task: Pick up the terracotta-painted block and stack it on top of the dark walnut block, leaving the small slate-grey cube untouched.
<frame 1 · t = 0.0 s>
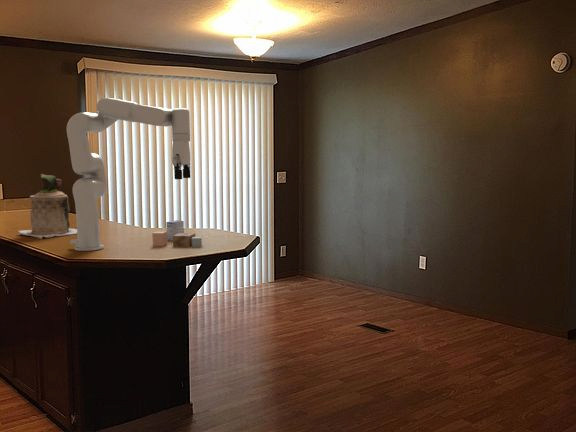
hand: (182, 178, 245), 31 cm above the table, fingers open, 9 cm apart
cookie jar: (51, 234, 304), on the table
medicine box: (175, 239, 283), on the table
slate block: (197, 246, 261), on the table
terracotta block: (160, 245, 264), on the table
walnut block: (184, 245, 264), on the table
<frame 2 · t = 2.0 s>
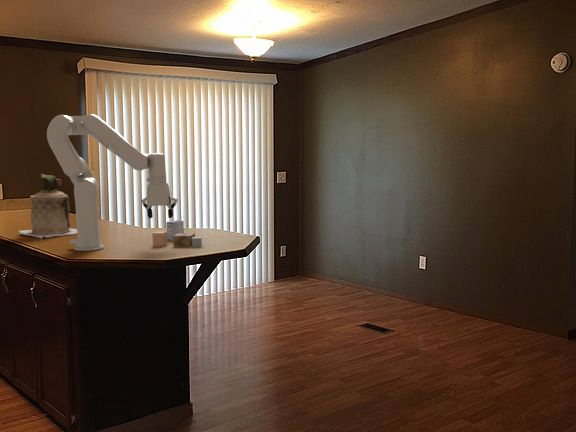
hand: (160, 217, 263), 13 cm above the table, fingers open, 9 cm apart
nothing on the table moved.
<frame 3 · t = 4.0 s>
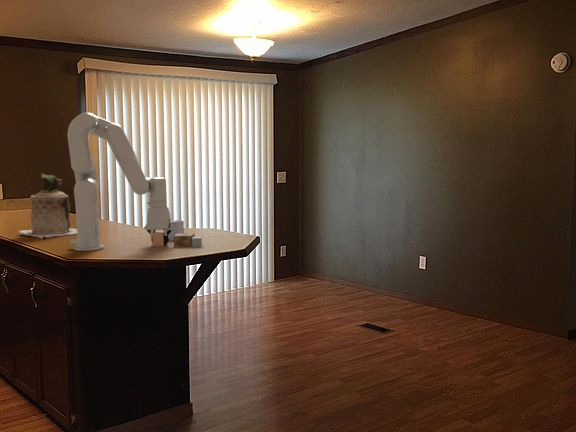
hand: (160, 243, 264), 1 cm above the table, fingers closed on terracotta block, 5 cm apart
terracotta block: (160, 245, 264), on the table, touching gripper
everything else where it was.
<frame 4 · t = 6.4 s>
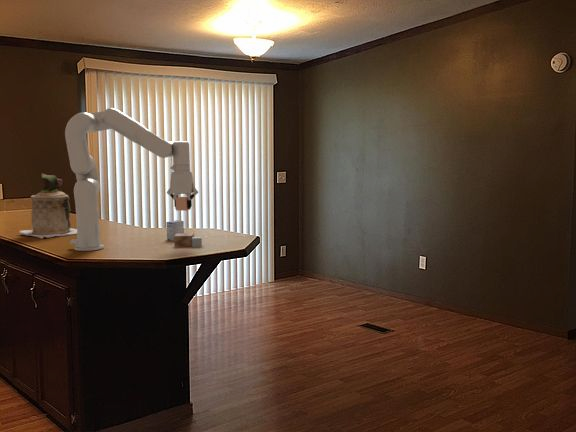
hand: (183, 208, 262), 17 cm above the table, fingers closed on terracotta block, 5 cm apart
terracotta block: (183, 209, 262), point 16 cm above the table, touching gripper
everything else where it was.
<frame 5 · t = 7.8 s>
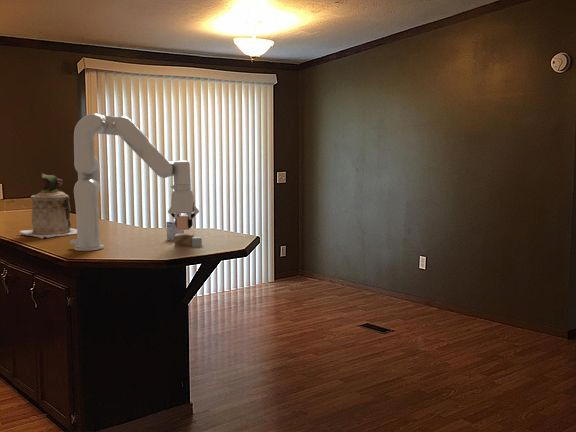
hand: (184, 227, 263), 8 cm above the table, fingers closed on terracotta block, 5 cm apart
terracotta block: (184, 228, 263), point 7 cm above the table, touching gripper
everything else where it was.
when the fingers open (7 cm above the table, at t = 8.9 s): terracotta block drops 1 cm, point 5 cm above the table.
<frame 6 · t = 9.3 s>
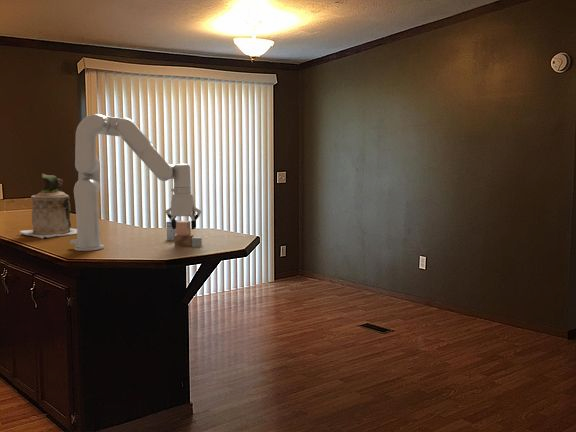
hand: (183, 228, 263), 7 cm above the table, fingers open, 8 cm apart
terracotta block: (183, 234, 264), point 5 cm above the table
everything else where it was.
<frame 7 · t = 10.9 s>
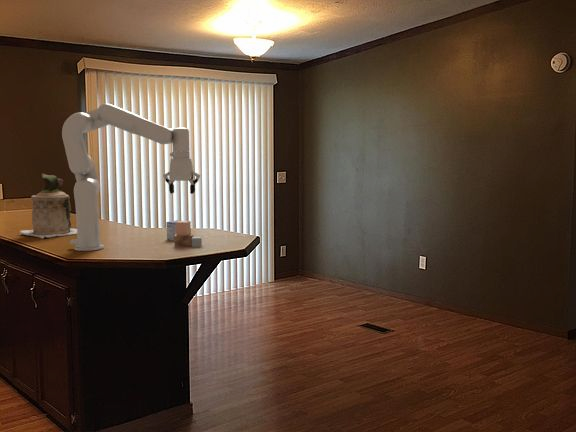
hand: (182, 193, 261), 24 cm above the table, fingers open, 9 cm apart
nothing on the table moved.
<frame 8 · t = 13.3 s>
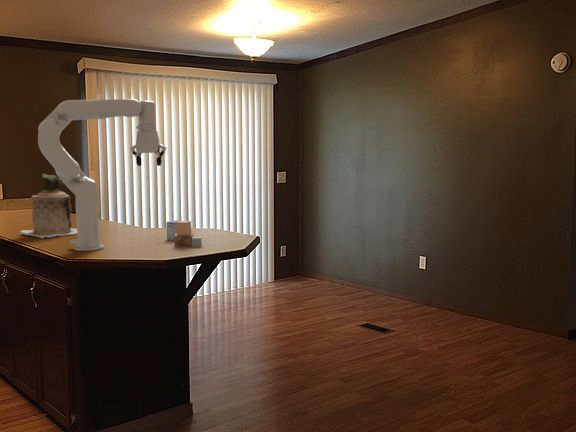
hand: (149, 165, 266), 36 cm above the table, fingers open, 9 cm apart
slate block: (196, 246, 261), on the table, touching walnut block
terracotta block: (184, 234, 264), point 5 cm above the table, touching walnut block
walnut block: (184, 245, 264), on the table, touching slate block, terracotta block
everything else where it was.
at the end: terracotta block 0.2 cm off-centre on the walnut block, point 5.0 cm above the walnut block's base; terracotta block tilted 0°; the gripper is holding nothing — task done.
